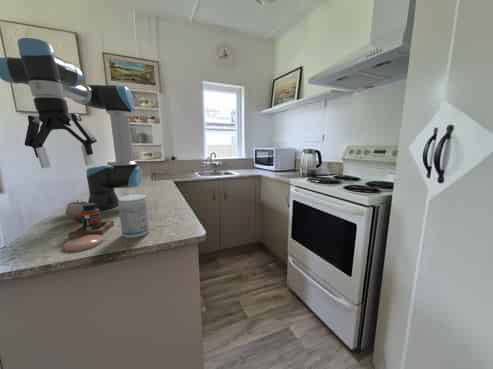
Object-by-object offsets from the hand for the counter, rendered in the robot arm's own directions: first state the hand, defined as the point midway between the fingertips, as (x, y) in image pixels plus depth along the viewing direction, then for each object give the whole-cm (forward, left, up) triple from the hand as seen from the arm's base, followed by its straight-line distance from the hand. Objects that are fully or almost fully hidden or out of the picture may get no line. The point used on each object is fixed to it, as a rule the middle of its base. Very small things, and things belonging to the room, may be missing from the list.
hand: (68, 166), depth 69 cm
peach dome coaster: (+2, +2, -27) cm, 27 cm away
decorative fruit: (-25, -13, -27) cm, 39 cm away
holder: (-10, -1, -27) cm, 29 cm away
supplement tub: (-3, +17, -27) cm, 33 cm away
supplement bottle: (-10, -1, -27) cm, 29 cm away
